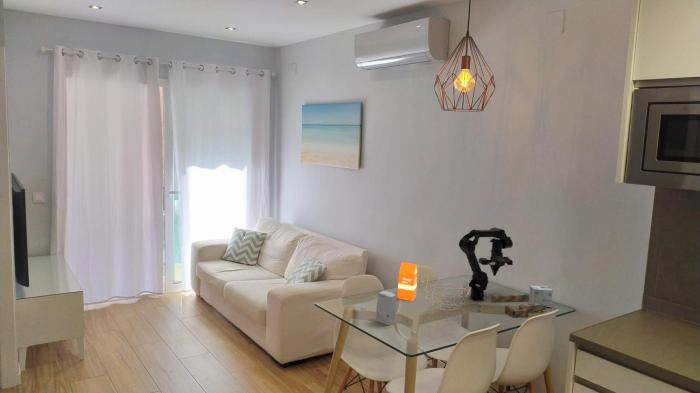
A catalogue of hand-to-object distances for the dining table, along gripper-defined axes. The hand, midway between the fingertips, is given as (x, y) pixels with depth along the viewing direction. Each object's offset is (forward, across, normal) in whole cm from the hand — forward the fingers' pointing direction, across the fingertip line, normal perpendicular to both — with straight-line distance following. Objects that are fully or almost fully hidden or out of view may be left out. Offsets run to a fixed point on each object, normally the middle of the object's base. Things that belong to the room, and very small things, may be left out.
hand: (494, 275), depth 294 cm
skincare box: (+12, -72, -36) cm, 81 cm away
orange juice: (+12, -52, -2) cm, 54 cm away
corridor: (+12, +7, -21) cm, 25 cm away
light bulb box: (+12, +20, -17) cm, 29 cm away
